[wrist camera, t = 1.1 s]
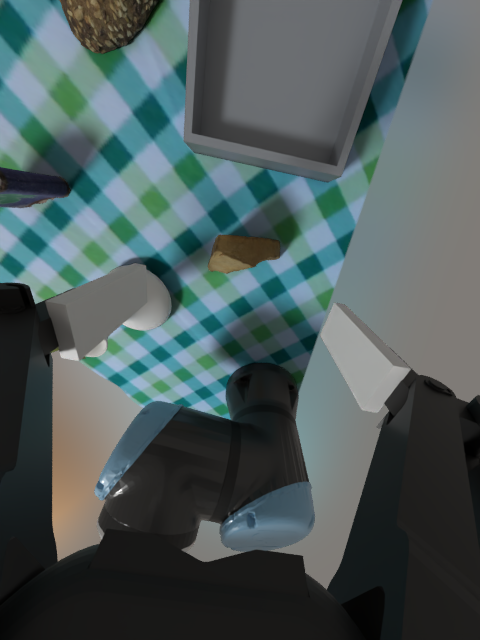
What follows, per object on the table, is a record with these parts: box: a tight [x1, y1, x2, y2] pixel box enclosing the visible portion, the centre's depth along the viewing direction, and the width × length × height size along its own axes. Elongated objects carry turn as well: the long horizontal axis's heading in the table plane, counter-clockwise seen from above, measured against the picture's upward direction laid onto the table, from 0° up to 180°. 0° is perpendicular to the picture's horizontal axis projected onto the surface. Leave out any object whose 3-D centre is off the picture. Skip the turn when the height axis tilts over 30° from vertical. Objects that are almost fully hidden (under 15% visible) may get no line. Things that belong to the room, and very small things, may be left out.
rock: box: [208, 235, 280, 274], centre depth 29 cm, size 11×9×10 cm
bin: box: [184, 0, 402, 182], centre depth 19 cm, size 22×18×4 cm
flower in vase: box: [50, 265, 172, 359], centre depth 24 cm, size 13×11×25 cm
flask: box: [0, 167, 71, 208], centre depth 24 cm, size 9×3×11 cm, turn 101°
